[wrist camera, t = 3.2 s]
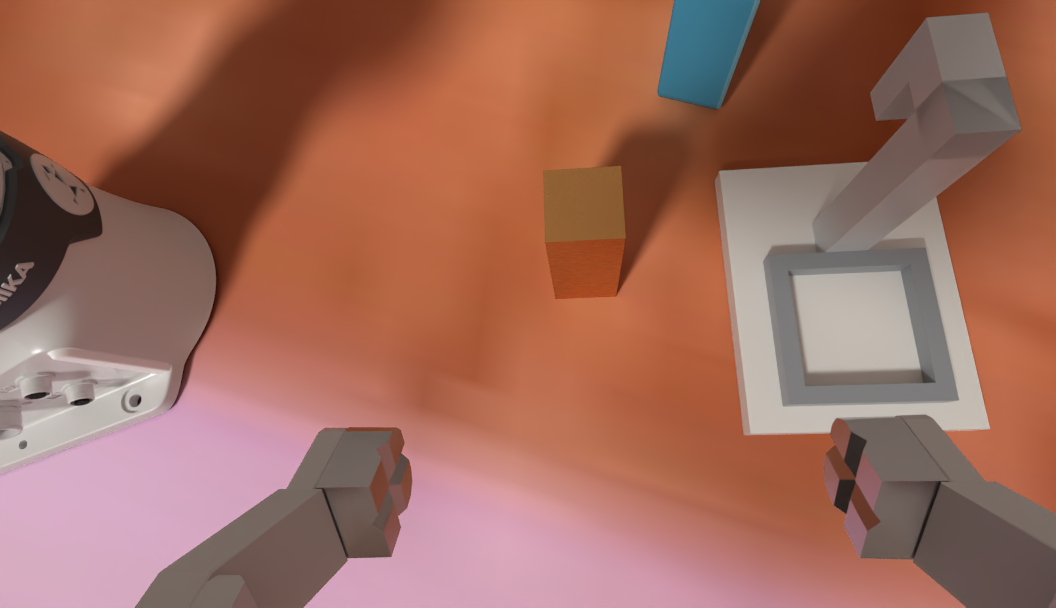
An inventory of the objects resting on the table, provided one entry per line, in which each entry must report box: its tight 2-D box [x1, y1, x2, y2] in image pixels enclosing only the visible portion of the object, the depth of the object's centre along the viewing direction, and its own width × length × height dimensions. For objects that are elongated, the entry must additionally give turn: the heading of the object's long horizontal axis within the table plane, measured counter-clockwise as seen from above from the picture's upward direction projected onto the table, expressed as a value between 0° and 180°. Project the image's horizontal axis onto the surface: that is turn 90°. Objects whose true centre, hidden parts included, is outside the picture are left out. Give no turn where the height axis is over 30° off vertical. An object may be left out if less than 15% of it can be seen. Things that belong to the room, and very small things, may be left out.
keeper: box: [715, 13, 1022, 435], centre depth 29 cm, size 17×13×16 cm
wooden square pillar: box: [543, 166, 626, 299], centre depth 34 cm, size 4×4×10 cm
